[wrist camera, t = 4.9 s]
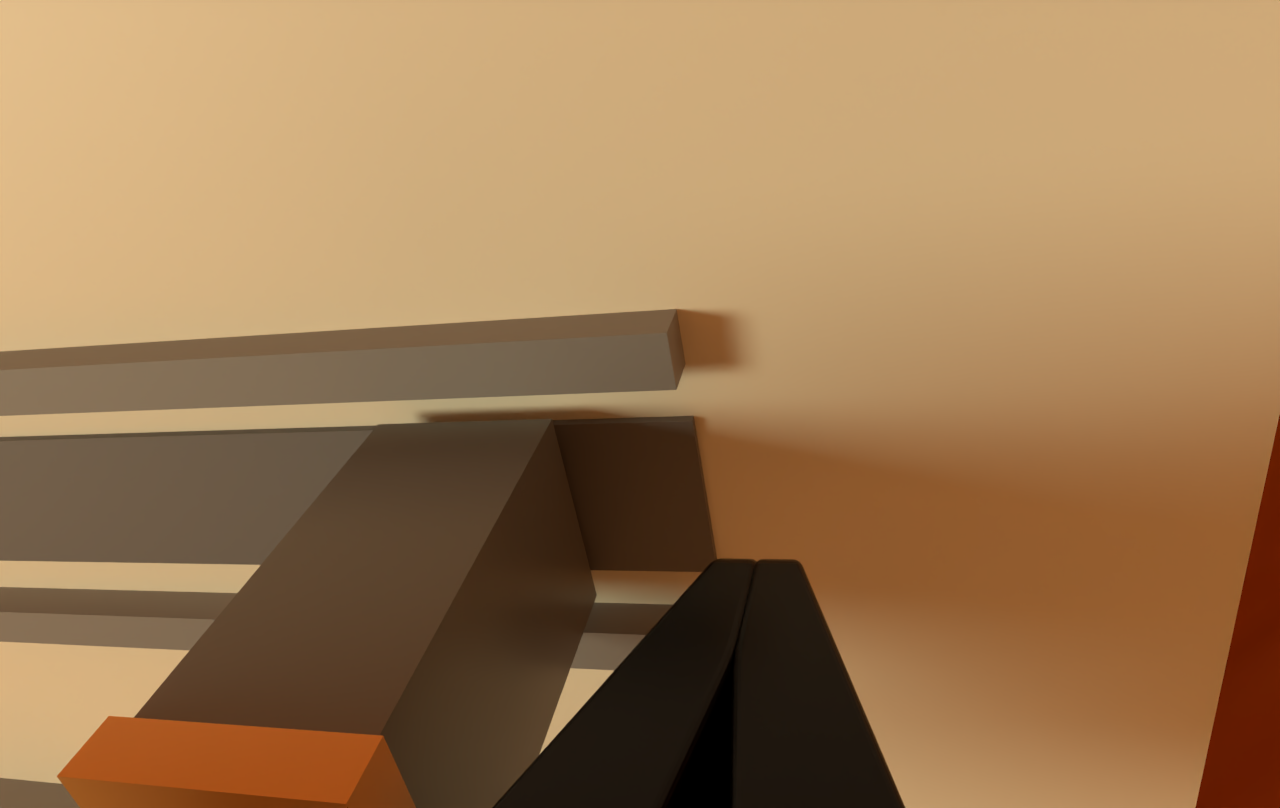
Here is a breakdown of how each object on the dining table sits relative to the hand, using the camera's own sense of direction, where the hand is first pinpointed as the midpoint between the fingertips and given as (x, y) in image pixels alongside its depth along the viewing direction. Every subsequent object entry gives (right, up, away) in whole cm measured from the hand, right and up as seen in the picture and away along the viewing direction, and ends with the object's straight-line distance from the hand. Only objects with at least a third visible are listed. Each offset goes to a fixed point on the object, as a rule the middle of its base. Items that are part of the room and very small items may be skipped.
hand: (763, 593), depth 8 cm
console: (-7, 0, +7) cm, 10 cm away
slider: (-3, +1, +2) cm, 3 cm away
